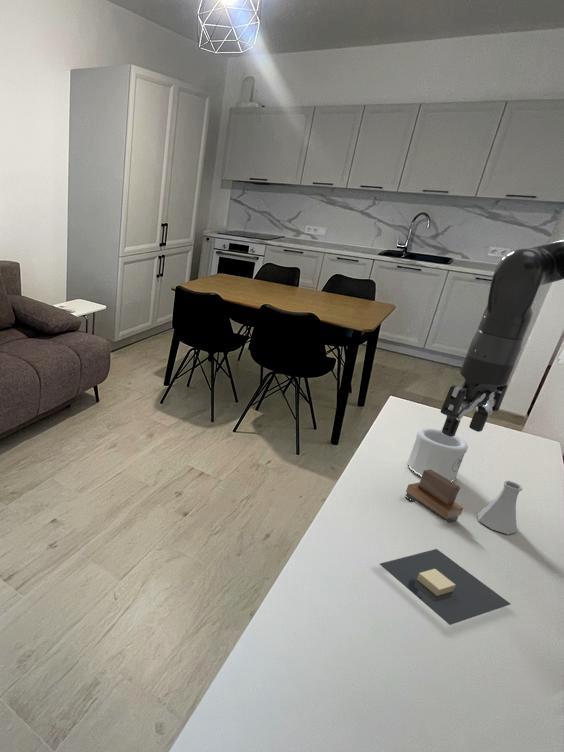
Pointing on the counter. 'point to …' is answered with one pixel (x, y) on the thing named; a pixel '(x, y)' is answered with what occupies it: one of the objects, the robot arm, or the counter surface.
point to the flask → (502, 510)
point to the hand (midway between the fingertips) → (461, 432)
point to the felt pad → (436, 582)
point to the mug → (437, 453)
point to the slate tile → (454, 605)
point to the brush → (436, 495)
